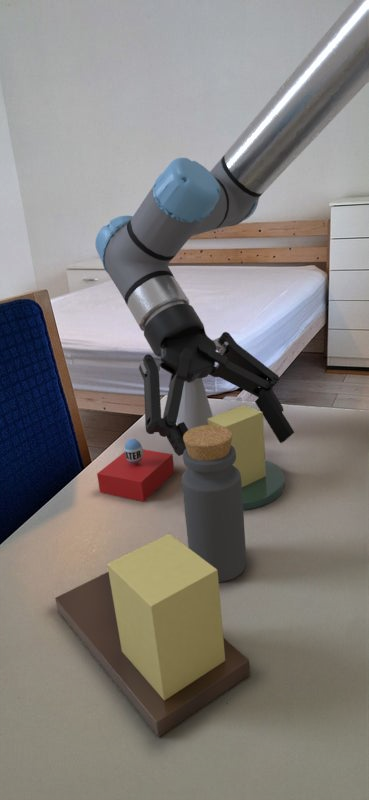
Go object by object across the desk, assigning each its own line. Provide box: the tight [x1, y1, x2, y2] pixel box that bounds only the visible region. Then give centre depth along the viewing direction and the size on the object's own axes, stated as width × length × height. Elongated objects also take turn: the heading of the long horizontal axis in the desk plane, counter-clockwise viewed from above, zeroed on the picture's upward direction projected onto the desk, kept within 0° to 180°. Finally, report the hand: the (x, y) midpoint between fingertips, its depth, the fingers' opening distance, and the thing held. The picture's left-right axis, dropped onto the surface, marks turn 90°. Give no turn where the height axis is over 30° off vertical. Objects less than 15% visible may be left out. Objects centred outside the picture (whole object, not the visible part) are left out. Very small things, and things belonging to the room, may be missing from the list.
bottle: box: [181, 425, 247, 583], centre depth 60 cm, size 6×6×15 cm
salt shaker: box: [176, 378, 214, 430], centre depth 88 cm, size 6×6×13 cm
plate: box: [242, 460, 286, 511], centre depth 77 cm, size 12×12×1 cm
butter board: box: [54, 571, 251, 738], centre depth 53 cm, size 9×18×2 cm, turn 36°
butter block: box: [107, 533, 225, 700], centre depth 48 cm, size 6×6×9 cm
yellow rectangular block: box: [207, 404, 266, 487], centre depth 75 cm, size 6×4×9 cm, turn 126°
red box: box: [96, 438, 175, 502], centre depth 79 cm, size 8×7×6 cm
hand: (247, 455), depth 73 cm, fingers open, 13 cm apart
